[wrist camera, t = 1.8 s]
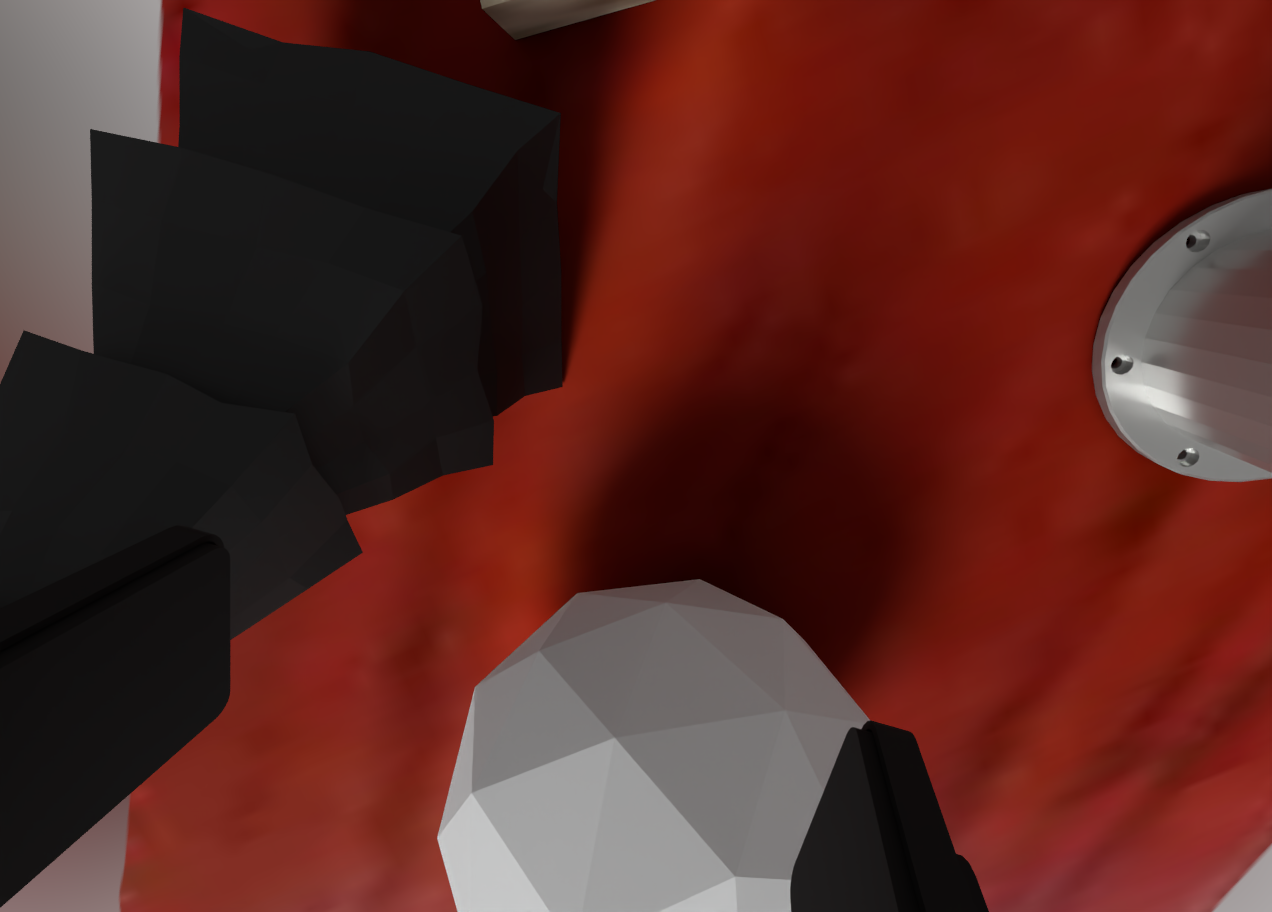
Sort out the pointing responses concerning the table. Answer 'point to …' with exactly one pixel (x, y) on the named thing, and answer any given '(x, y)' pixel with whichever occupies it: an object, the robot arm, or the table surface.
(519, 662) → the geometric sculpture
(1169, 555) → the table surface
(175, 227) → the decorative tree
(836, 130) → the table surface
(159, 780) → the table surface
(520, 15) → the plinth
